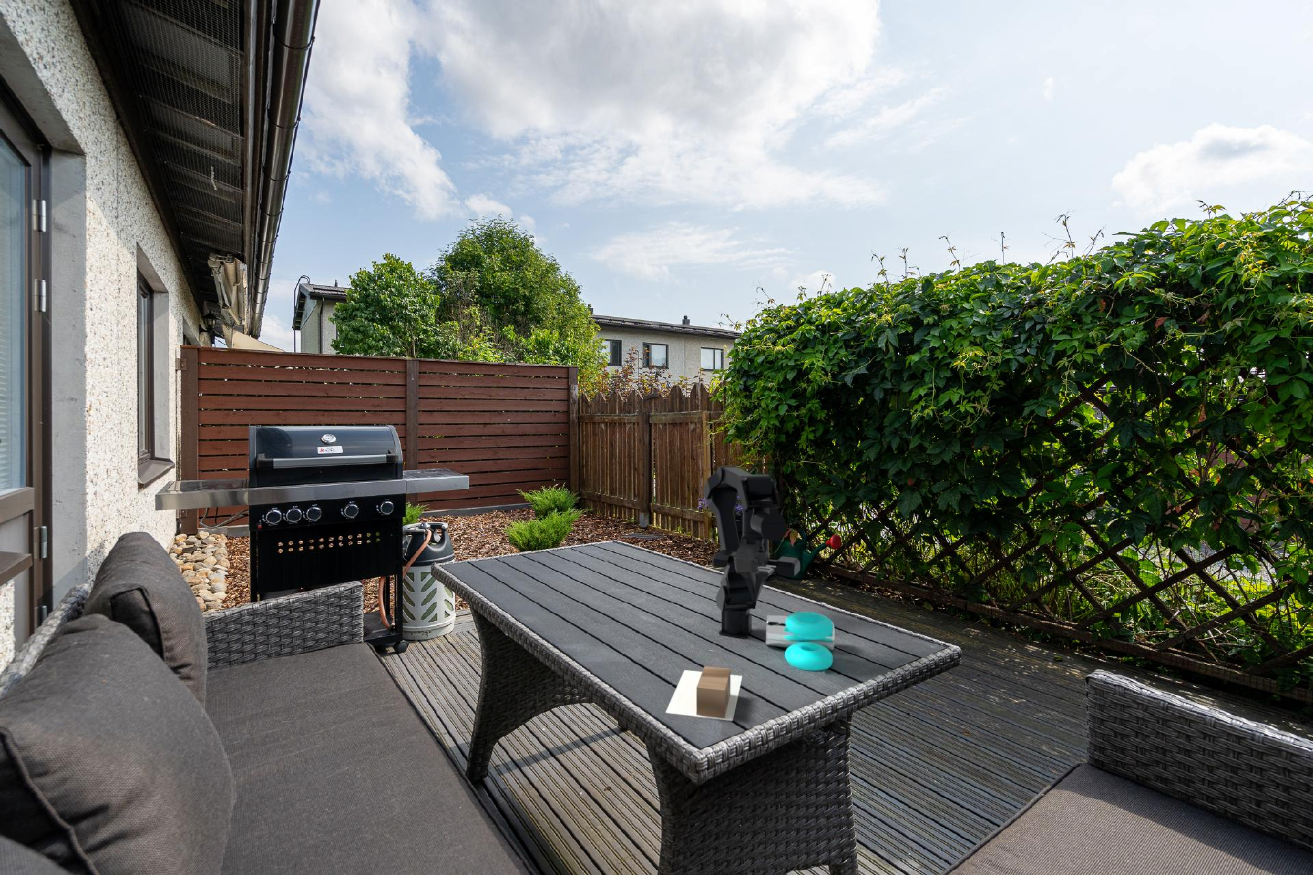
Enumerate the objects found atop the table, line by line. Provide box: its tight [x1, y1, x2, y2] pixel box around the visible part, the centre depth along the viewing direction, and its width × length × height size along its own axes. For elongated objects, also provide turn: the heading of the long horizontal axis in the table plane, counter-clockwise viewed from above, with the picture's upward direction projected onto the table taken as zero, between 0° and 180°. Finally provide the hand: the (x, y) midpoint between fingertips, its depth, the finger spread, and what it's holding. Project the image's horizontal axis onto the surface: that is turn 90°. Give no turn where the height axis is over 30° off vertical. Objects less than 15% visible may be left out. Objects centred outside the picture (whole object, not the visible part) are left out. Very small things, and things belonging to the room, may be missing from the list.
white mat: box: [665, 669, 743, 722], centre depth 116 cm, size 18×12×1 cm, turn 166°
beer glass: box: [765, 614, 836, 651], centre depth 139 cm, size 7×7×15 cm
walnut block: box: [696, 665, 732, 718], centre depth 111 cm, size 5×5×9 cm
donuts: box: [784, 611, 835, 672], centre depth 130 cm, size 10×10×10 cm
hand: (755, 600), depth 135 cm, fingers closed
